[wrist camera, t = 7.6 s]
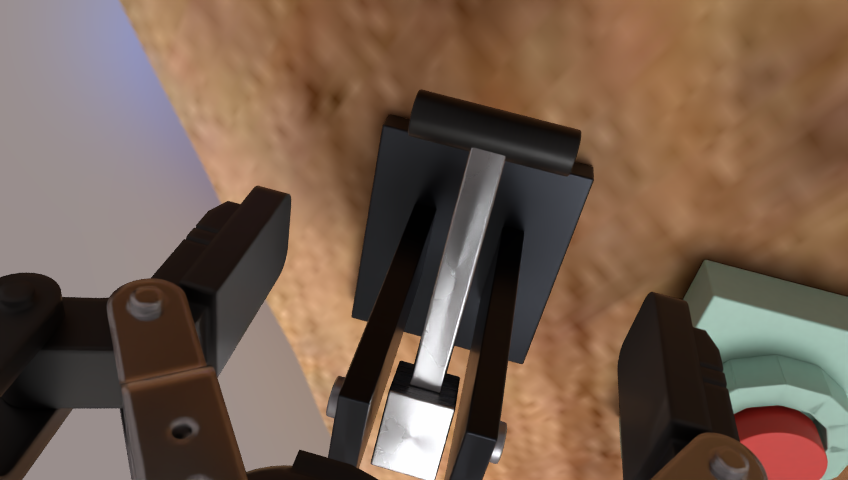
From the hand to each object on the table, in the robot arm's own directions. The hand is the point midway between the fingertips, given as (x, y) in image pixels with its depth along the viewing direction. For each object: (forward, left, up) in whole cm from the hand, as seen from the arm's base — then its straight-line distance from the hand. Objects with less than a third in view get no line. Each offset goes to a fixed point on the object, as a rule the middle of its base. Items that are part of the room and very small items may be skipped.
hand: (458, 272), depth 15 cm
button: (+12, +15, -10) cm, 22 cm away
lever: (+5, 0, -6) cm, 8 cm away
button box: (+12, +15, -15) cm, 24 cm away
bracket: (+9, 0, -15) cm, 17 cm away
